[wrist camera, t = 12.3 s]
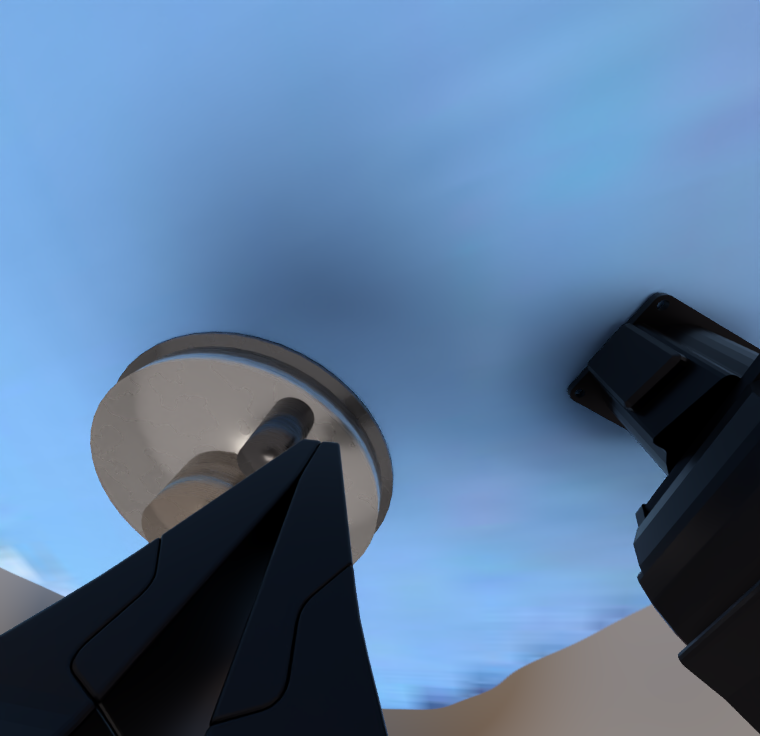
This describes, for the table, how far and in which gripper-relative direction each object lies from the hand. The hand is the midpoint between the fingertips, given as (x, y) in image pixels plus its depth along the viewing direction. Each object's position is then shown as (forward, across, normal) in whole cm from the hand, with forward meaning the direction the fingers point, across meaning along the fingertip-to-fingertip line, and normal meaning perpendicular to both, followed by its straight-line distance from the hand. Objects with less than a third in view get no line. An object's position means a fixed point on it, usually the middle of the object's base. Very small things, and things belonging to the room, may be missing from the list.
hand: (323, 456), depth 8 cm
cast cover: (+9, +9, +12) cm, 18 cm away
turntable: (+12, +9, +12) cm, 19 cm away
